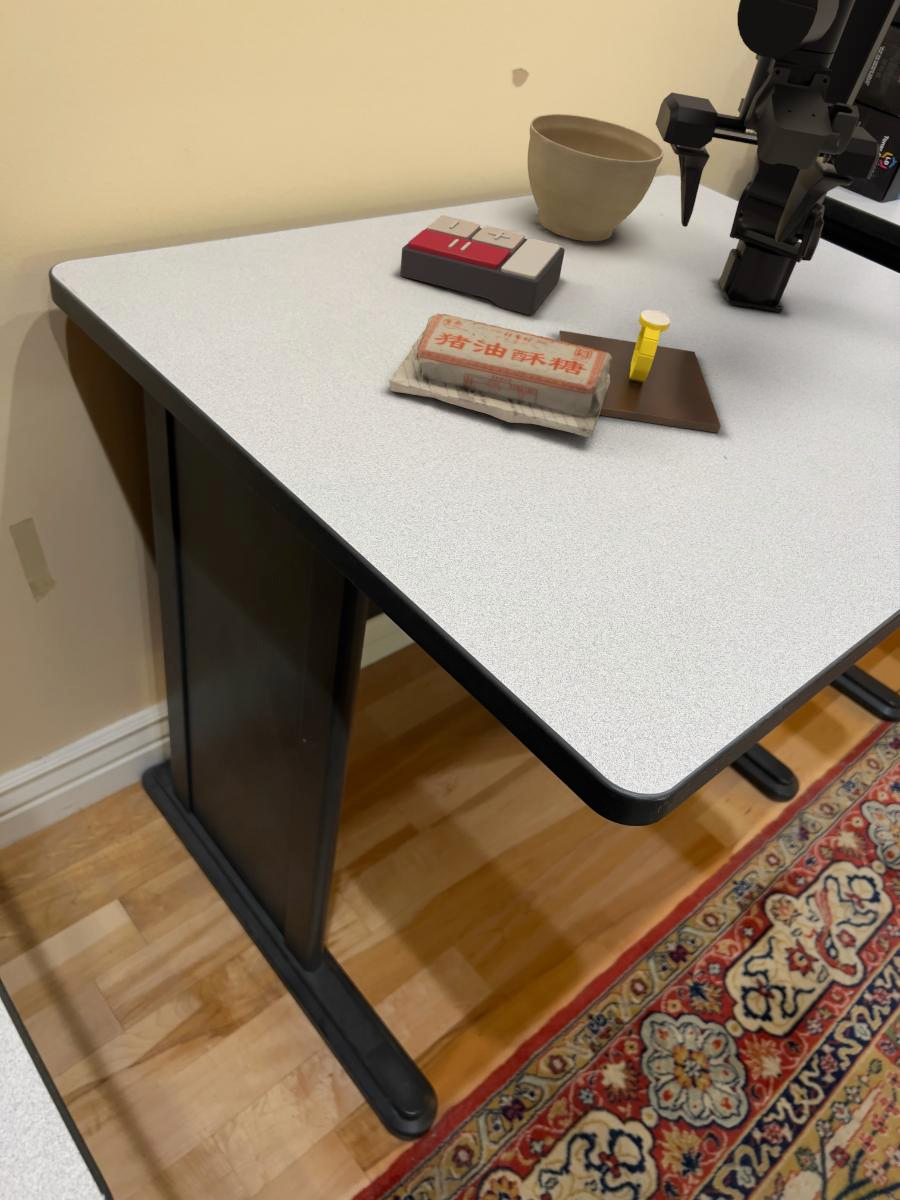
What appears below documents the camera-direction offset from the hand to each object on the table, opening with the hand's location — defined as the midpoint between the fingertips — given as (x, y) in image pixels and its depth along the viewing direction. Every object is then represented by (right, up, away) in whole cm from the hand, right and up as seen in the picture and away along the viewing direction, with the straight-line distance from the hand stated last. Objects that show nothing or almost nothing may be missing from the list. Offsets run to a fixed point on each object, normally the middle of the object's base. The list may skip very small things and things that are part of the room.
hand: (731, 233), depth 84 cm
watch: (-9, -13, +1) cm, 16 cm away
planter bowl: (-11, +12, +29) cm, 33 cm away
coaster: (-9, -14, +1) cm, 17 cm away
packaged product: (-22, -16, -5) cm, 28 cm away
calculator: (-23, 0, +13) cm, 27 cm away
